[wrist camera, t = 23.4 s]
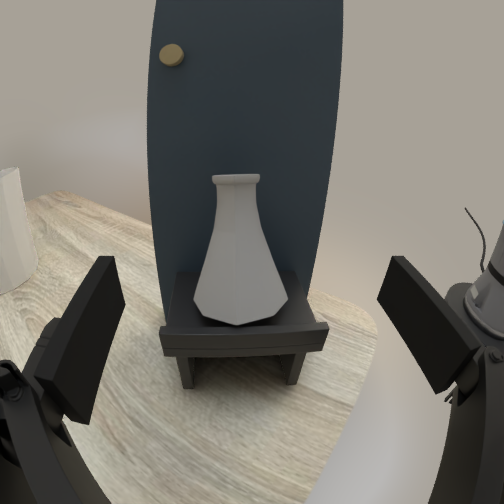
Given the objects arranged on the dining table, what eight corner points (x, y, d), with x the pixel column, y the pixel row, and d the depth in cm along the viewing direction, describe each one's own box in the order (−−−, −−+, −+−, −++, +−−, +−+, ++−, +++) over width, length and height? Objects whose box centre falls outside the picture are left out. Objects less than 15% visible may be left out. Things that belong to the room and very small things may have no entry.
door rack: (323, 393, 24) (404, -40, 6) (156, 400, 22) (128, -73, 4) (294, 306, 35) (329, 8, 18) (170, 308, 33) (165, -4, 16)
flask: (235, 339, 17) (227, 176, 14) (179, 302, 22) (166, 178, 19) (303, 301, 22) (307, 174, 19) (243, 278, 27) (240, 173, 24)
